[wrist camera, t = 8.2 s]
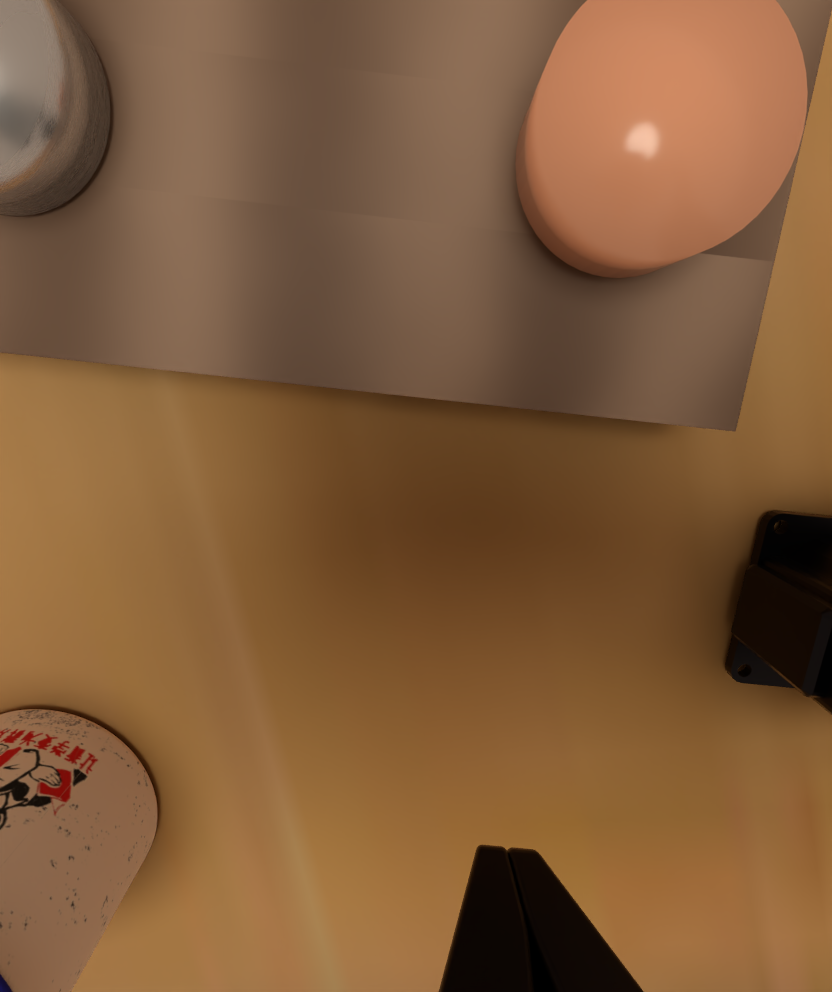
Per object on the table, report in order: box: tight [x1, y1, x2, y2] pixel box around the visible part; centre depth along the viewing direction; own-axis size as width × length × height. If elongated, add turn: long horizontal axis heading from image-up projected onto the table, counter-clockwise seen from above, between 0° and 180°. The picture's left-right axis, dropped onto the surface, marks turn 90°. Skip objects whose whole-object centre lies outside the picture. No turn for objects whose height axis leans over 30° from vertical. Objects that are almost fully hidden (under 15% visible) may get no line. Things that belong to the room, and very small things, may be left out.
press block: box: [0, 0, 832, 431], centre depth 16 cm, size 24×12×4 cm, turn 84°
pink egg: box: [515, 0, 808, 278], centre depth 14 cm, size 5×5×6 cm
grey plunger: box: [0, 0, 110, 216], centre depth 14 cm, size 5×5×6 cm
